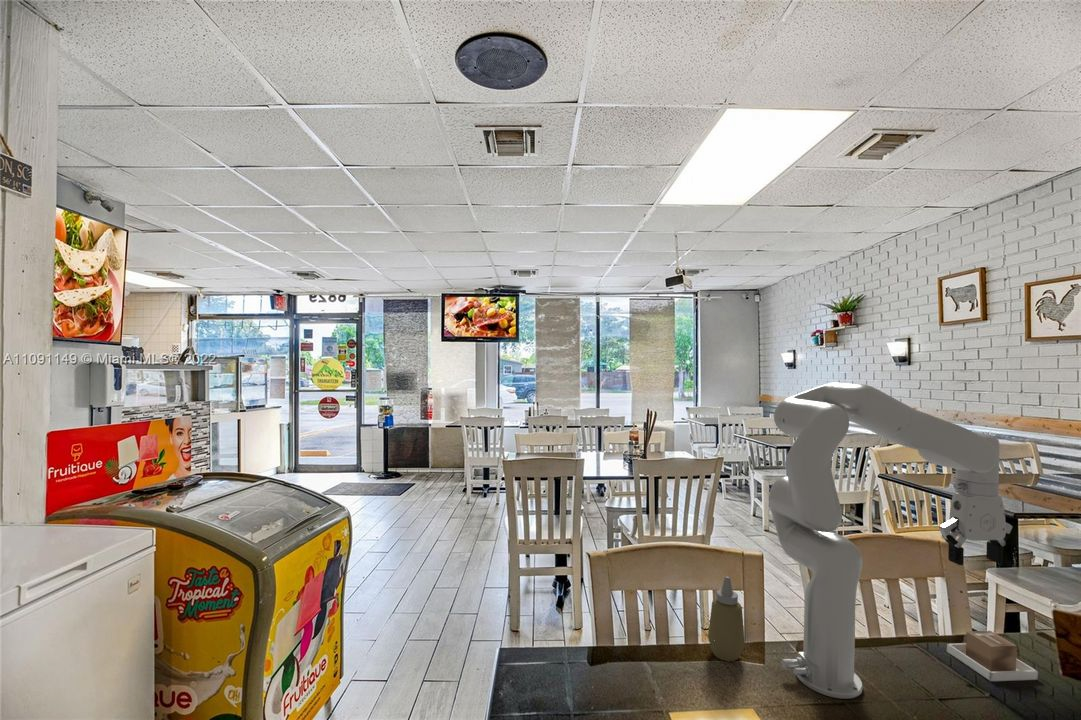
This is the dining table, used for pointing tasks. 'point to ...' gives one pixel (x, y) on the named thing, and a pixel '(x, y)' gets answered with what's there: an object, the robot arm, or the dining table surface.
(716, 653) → the squeeze bottle
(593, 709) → the dining table surface
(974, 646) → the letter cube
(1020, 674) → the tray
